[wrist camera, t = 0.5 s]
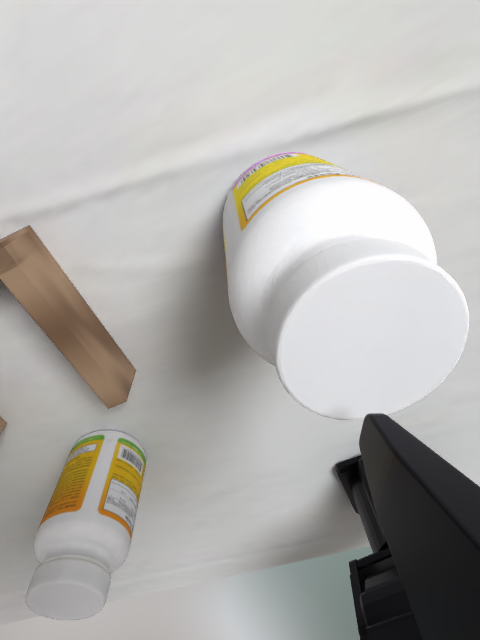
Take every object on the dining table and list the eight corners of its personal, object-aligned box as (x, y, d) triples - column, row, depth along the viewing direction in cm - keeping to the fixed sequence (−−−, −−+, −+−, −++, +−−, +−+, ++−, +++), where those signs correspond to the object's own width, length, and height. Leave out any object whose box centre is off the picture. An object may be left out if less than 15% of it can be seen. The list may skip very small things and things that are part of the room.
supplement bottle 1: (70, 472, 29) (9, 624, 20) (75, 421, 26) (9, 569, 18) (141, 482, 30) (111, 631, 21) (153, 434, 27) (125, 580, 19)
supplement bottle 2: (312, 289, 22) (409, 471, 11) (205, 253, 21) (194, 419, 10) (369, 178, 19) (579, 272, 8) (250, 127, 18) (307, 155, 7)
